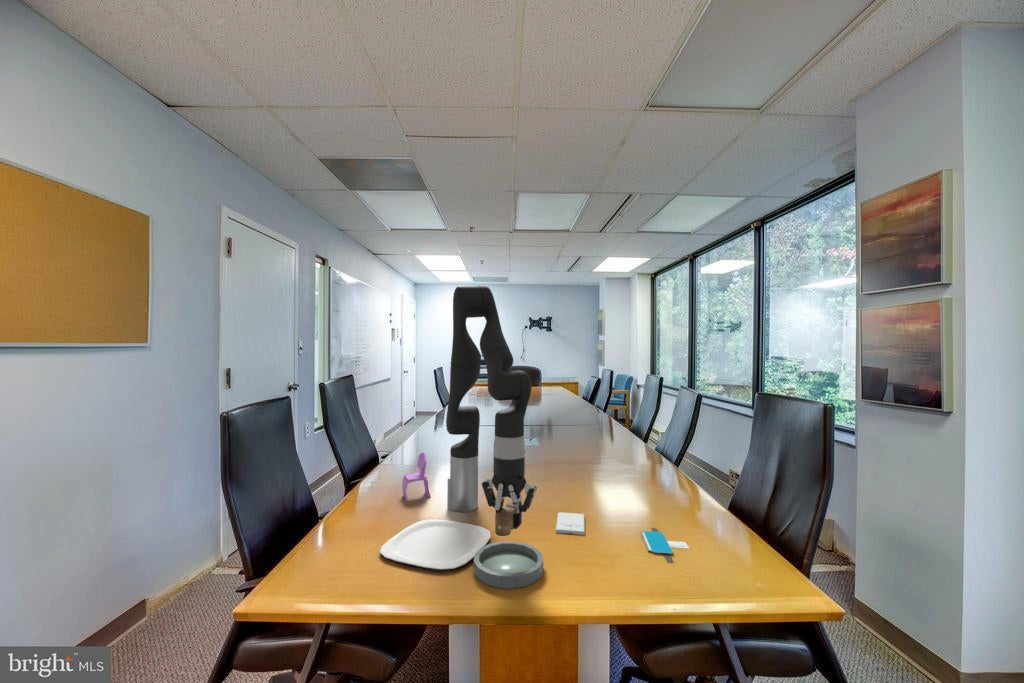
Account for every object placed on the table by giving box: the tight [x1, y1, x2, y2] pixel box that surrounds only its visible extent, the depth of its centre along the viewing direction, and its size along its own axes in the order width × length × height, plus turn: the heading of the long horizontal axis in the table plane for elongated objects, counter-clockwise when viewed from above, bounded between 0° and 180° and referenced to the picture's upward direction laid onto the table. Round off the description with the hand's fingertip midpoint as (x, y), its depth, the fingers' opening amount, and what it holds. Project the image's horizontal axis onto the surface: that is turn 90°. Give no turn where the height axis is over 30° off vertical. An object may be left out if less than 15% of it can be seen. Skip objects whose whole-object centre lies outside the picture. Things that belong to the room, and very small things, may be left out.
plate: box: [379, 518, 492, 571], centre depth 111 cm, size 25×25×2 cm
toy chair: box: [401, 452, 432, 502], centre depth 147 cm, size 8×9×15 cm
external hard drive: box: [555, 512, 586, 536], centre depth 125 cm, size 2×8×12 cm
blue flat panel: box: [640, 527, 690, 564], centre depth 113 cm, size 20×12×2 cm, turn 173°
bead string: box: [494, 502, 515, 537], centre depth 100 cm, size 4×11×4 cm, turn 158°
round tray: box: [473, 540, 544, 590], centre depth 100 cm, size 16×16×3 cm
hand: (508, 525), depth 100 cm, fingers closed on bead string, 3 cm apart
